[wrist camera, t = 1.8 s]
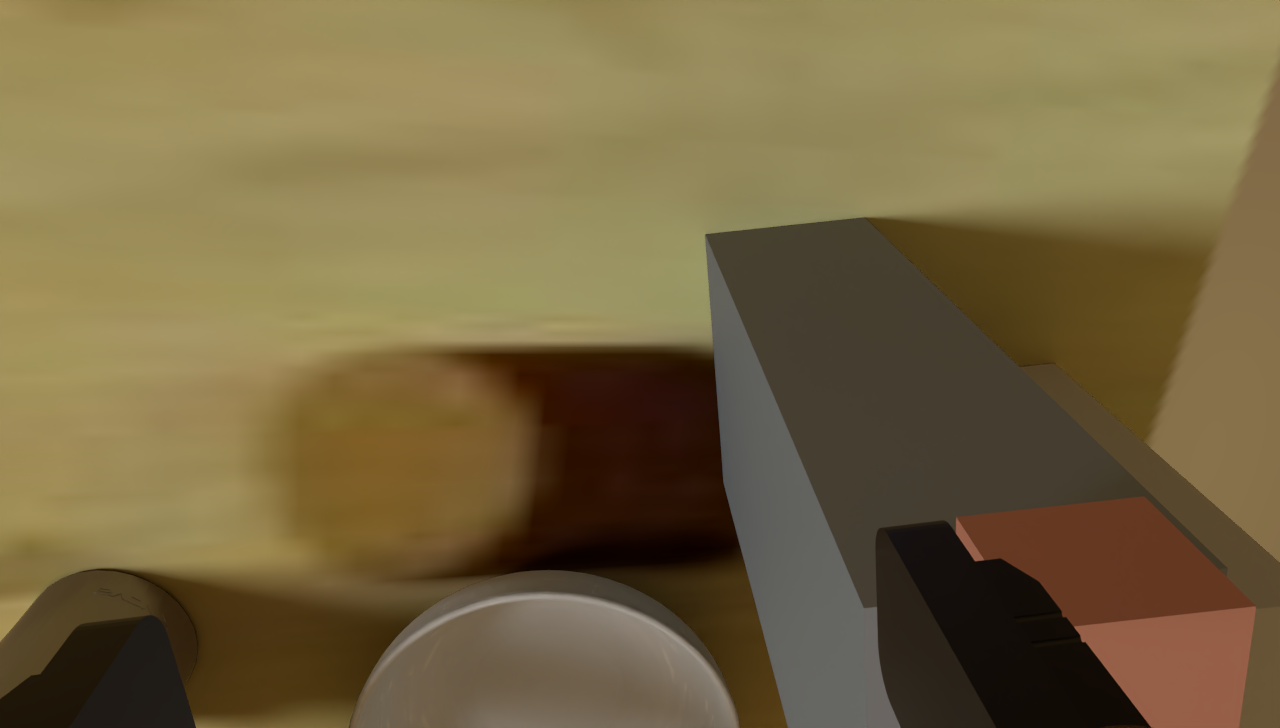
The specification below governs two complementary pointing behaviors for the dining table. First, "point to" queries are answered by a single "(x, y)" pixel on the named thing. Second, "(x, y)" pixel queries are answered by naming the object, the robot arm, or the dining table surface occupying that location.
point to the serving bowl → (546, 661)
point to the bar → (1134, 602)
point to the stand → (905, 453)
